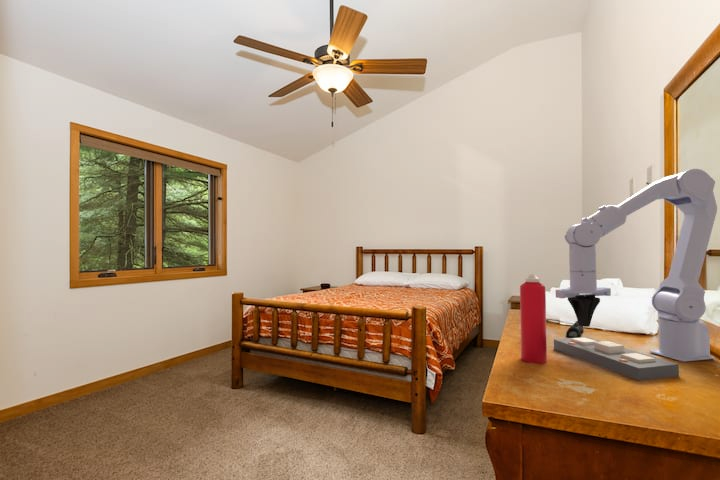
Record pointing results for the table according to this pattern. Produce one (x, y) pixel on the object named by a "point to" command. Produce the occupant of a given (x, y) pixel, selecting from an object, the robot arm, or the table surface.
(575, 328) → the electric trimmer
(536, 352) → the bottle
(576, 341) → the key
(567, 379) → the table surface
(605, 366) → the key panel
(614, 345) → the key middle
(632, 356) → the key
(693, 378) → the table surface
